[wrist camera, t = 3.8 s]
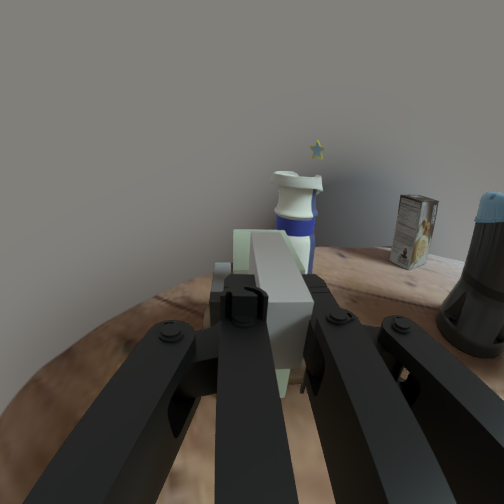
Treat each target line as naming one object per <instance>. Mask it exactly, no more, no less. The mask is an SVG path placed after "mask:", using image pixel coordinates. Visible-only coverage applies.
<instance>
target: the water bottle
mask: <svg viewBox="0 0 504 504" xmlns="http://www.w3.org/2000/svg"><path fill="white" fill-rule="evenodd" d="M310 148H311V149H312V151H313V156H312V159H313V158H315V157H318V158H320V159H321V160H322V152H323V151H324V150H325V149H326V148H325V147H321V146H320V144H319V141H318V140H317V142H316V145H315V146H310ZM269 183H271V184H275V185H278V190H279V201H278V205H277V206H276V208H275V209H274V211H275V212H276V214H277V216H276V229H275V230H285V232H286V234H287V236H288V238H289V240H290V242H291V243H292V245H293V247H294V249H295V251H296V253H297V255H298V257H299V259H300V261H301V263H302V265H303V267H304V268H305V274H312V267H313V258H314V249H315V236H314V226H315V217H316V216H317V215H318V212H317V210H316V206H315V198H316V193H317V195H318V194H319V192H320V191H323V188H322V179H321V176H320V175H316V176H315V177H299V176H298V174H296V173H294V172H291V171H277V172H274V174H273V176H272V177H271V179H270V181H269Z"/></svg>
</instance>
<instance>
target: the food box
mask: <svg viewBox="0 0 504 504" xmlns="http://www.w3.org/2000/svg"><path fill="white" fill-rule="evenodd" d="M438 202H439V201H437V200H433V199H430V198H427V197H424V196H420V195H401V196H400V203H399V210H398V216H397V222H396V228H395V234H394V239H393V244H392V249H391V254H390V259H389V261H391V262H393V263H395V264H397V265H399V266H401V267H403V268H405V269H407V270H410V269H413V268H415V267H418V266H420V265H422V264H425V263H426V260H427V256H428V252H429V248H430V243H431V238H432V234H433V229H434V224H435V219H436V214H437V207H438Z"/></svg>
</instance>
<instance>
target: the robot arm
mask: <svg viewBox="0 0 504 504" xmlns="http://www.w3.org/2000/svg"><path fill="white" fill-rule="evenodd" d="M475 222H476V223H475V228H474V232H473V236H472V240H471V244H470V248H469V251H468V255H467V258H466V262H465V265H464V268H463V272H462V275H461V277H460V279H459V281H458V282H457V284H456V285H455V286H454V288H453V289H452V291H451V292H450V293H449V295H448V296H447V297H446V299H445V300H444V301H443V303H442V305H441V307H440V309H439V312H438V315H437V325H438V327H439V329H440V331H441V333H442V334H443V335H444V336H445V338H446V339H447V340H448V341H449V342H451V343H452V344H453V345H454V346H456V347H457V348H459V349H461V350H462V351H464V352H466V353H468V354H471V355H474V356H477V357H483V358H491V357H496V356H498V355H500V354H501V353H502V352H503V351H504V193H499V192H486V193H485V194H483V196H482V197H481V200H480V204H479V208H478V213H477V216H476V217H475ZM303 357H304V361H305V364H306V368H305V372H304V376H303V380H302V384H301V388H300V394H301V393H304V390H305V386H306V388H307V392H308V396H309V400H310V404H311V407H312V411H313V415H314V419H315V423H316V426H317V430H318V434H319V438H320V442H321V446H322V450H323V454H324V458H325V462H326V466H327V470H328V474H329V478H330V482H331V486H332V490H333V494H334V498H335V502H336V504H504V401H503V400H502V399H501V398H500V397H499V396H498V395H497V394H496V393H495V392H494V391H493V390H492V389H490V388H489V387H488V386H487V385H486V384H485V383H484V382H483V381H482V380H481V379H480V378H478V377H477V376H476V375H475V374H474V373H473V372H472V371H471V370H470V369H468V368H467V367H466V366H465V365H464V364H463V363H462V362H460V361H459V360H458V359H457V358H456V357H455V356H454V355H452V354H451V353H450V352H449V351H448V350H447V349H445V348H444V347H443V346H442V345H441V344H440V343H438V342H437V341H436V340H435V339H434V338H433V337H431V336H430V335H429V334H428V333H427V332H425V331H424V330H423V329H422V328H421V327H419V326H418V325H417V324H416V323H414V322H413V321H411V320H410V319H408V318H405V317H403V316H388V317H386V318H384V320H383V322H382V325H381V327H373V326H366V325H362V324H361V323H360V321H359V320H358V318H357V317H356V316H355V315H354V314H353V313H352V312H350V311H348V310H346V309H342V308H340V307H339V305H338V304H337V302H336V300H335V299H334V297H333V295H332V293H330V290H329V288H327V285H326V283H325V282H324V280H323V279H321V278H320V277H319V276H317V275H316V274H301V273H300V271H299V269H298V267H297V265H296V263H295V261H294V259H293V257H292V255H291V253H290V250H289V248H288V246H287V244H286V242H285V240H284V238H283V236H282V234H281V232H255V231H251V234H250V254H249V274H229V275H228V276H227V277H226V278H225V279H224V288H223V291H222V293H221V295H220V321H219V322H218V323H217V324H216V325H214V326H212V327H210V328H208V329H204V330H199V331H194V329H193V327H192V326H190V325H189V324H188V323H185V322H182V321H176V320H169V321H163V322H160V323H158V324H155V325H154V326H153V327H152V328H151V329H150V330H149V331H148V332H147V333H146V335H145V336H144V337H143V338H142V340H141V341H140V342H139V343H138V345H137V346H136V347H135V349H134V350H133V351H132V352H131V354H130V355H129V356H128V357H127V359H126V360H125V361H124V363H123V364H122V365H121V367H120V368H119V369H118V370H117V372H116V373H115V374H114V376H113V377H112V378H111V380H110V381H109V382H108V383H107V385H106V386H105V387H104V389H103V390H102V391H101V393H100V394H99V395H98V397H97V398H96V399H95V401H94V402H93V403H92V405H91V406H90V407H89V409H88V410H87V411H86V413H85V414H84V416H83V417H82V418H81V420H80V421H79V422H78V424H77V425H76V426H75V428H74V429H73V431H72V432H71V433H70V435H69V436H68V438H67V439H66V440H65V442H64V443H63V445H62V446H61V447H60V449H59V450H58V452H57V453H56V454H55V456H54V457H53V459H52V460H51V462H50V463H49V465H48V466H47V467H46V469H45V470H44V472H43V473H42V475H41V476H40V478H39V479H38V481H37V482H36V484H35V485H34V487H33V488H32V490H31V491H30V493H29V494H28V496H27V497H26V499H25V500H24V502H23V504H155V503H156V501H157V499H158V497H159V494H160V492H161V490H162V488H163V485H164V483H165V481H166V478H167V476H168V474H169V472H170V469H171V467H172V465H173V462H174V460H175V458H176V456H177V453H178V451H179V449H180V446H181V444H182V442H183V439H184V437H185V435H186V433H187V430H188V428H189V426H190V423H191V421H192V419H193V416H194V414H195V412H196V409H197V407H198V405H199V402H200V400H201V396H205V395H210V394H214V393H217V402H216V434H215V504H299V502H298V496H297V490H296V485H295V479H294V473H293V468H292V462H291V456H290V451H289V445H288V439H287V433H286V428H285V422H284V416H283V411H282V405H281V400H280V394H279V388H278V383H277V377H276V371H275V369H296V368H301V365H302V360H303ZM404 367H405V368H406V369H407V370H408V371H409V372H410V374H409V375H408V377H407V379H406V380H404V379H403V378H401V377H400V375H401V373H402V371H403V369H404Z"/></svg>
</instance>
